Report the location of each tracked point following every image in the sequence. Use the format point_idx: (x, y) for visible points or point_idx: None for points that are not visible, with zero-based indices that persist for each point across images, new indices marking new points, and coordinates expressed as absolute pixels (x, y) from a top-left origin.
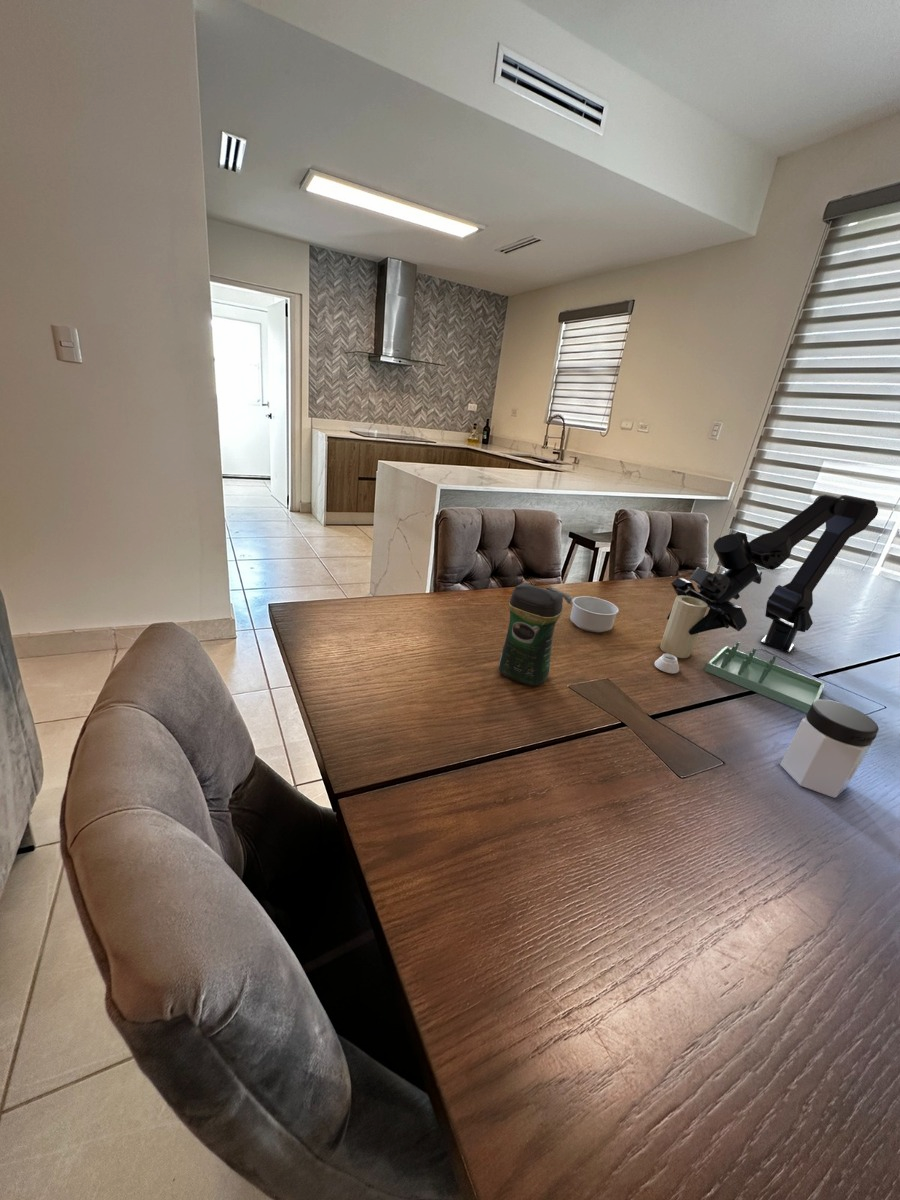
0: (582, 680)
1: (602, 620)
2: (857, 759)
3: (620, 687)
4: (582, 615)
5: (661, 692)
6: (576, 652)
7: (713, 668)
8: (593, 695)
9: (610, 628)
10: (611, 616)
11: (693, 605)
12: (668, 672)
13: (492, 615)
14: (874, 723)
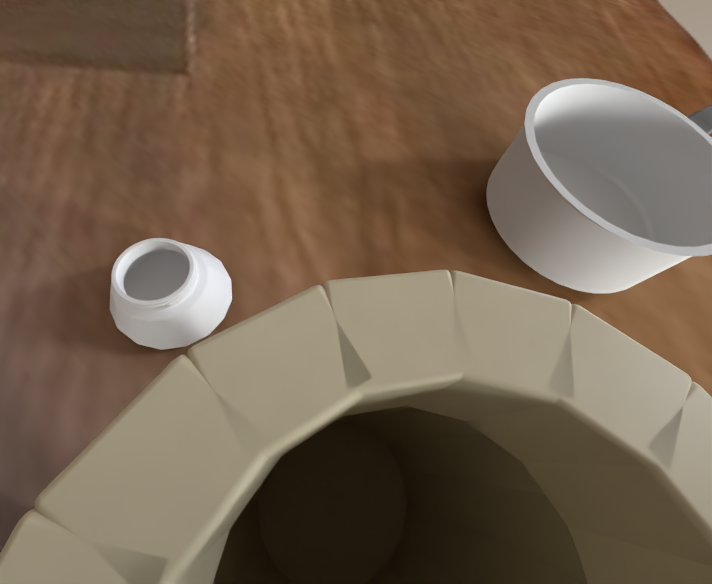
0: (199, 22)
1: (513, 160)
2: None
3: (130, 76)
4: (543, 113)
5: (43, 165)
6: (347, 81)
7: None
8: (125, 7)
9: (511, 242)
10: (539, 183)
11: (135, 470)
12: (130, 269)
13: (547, 17)
14: None
